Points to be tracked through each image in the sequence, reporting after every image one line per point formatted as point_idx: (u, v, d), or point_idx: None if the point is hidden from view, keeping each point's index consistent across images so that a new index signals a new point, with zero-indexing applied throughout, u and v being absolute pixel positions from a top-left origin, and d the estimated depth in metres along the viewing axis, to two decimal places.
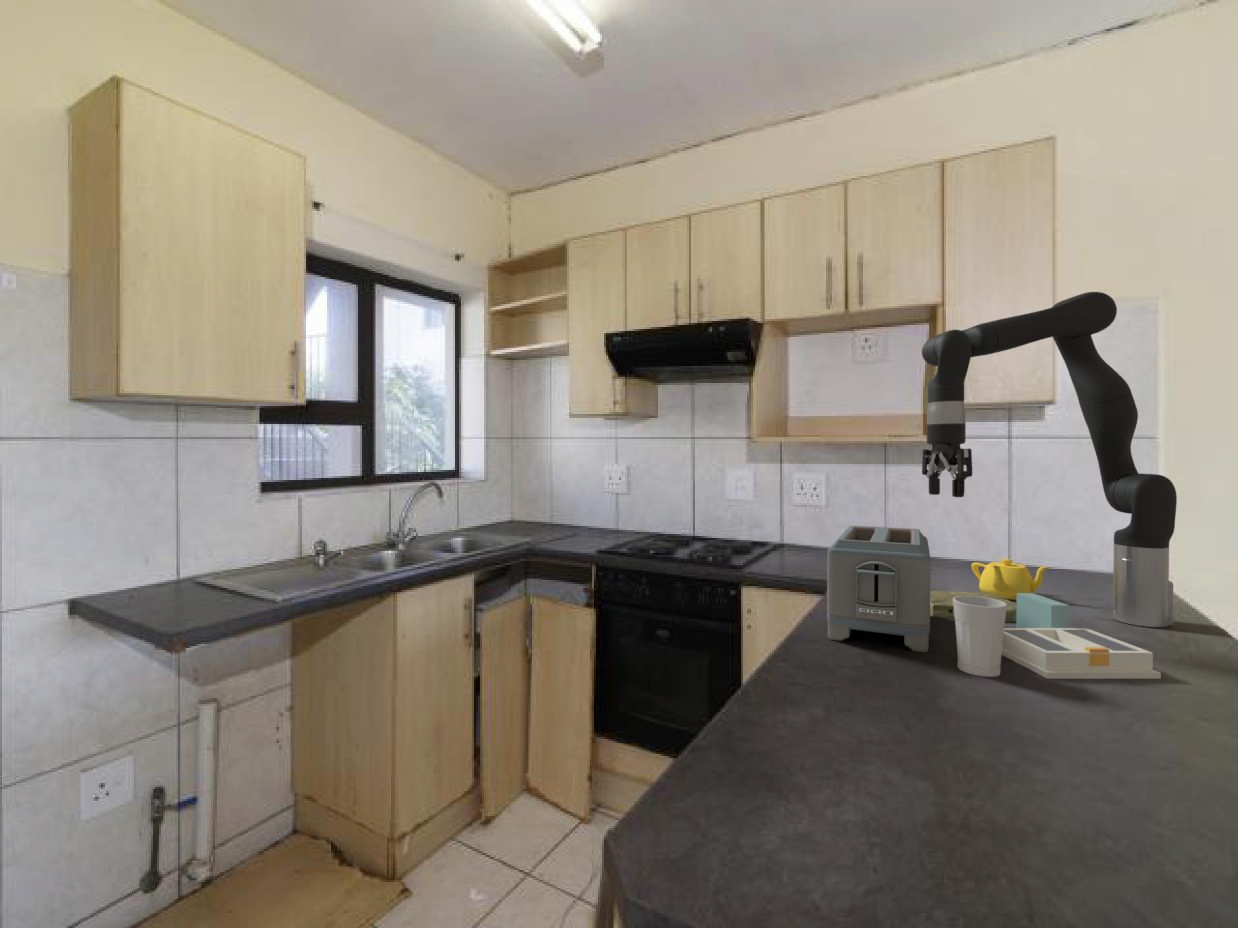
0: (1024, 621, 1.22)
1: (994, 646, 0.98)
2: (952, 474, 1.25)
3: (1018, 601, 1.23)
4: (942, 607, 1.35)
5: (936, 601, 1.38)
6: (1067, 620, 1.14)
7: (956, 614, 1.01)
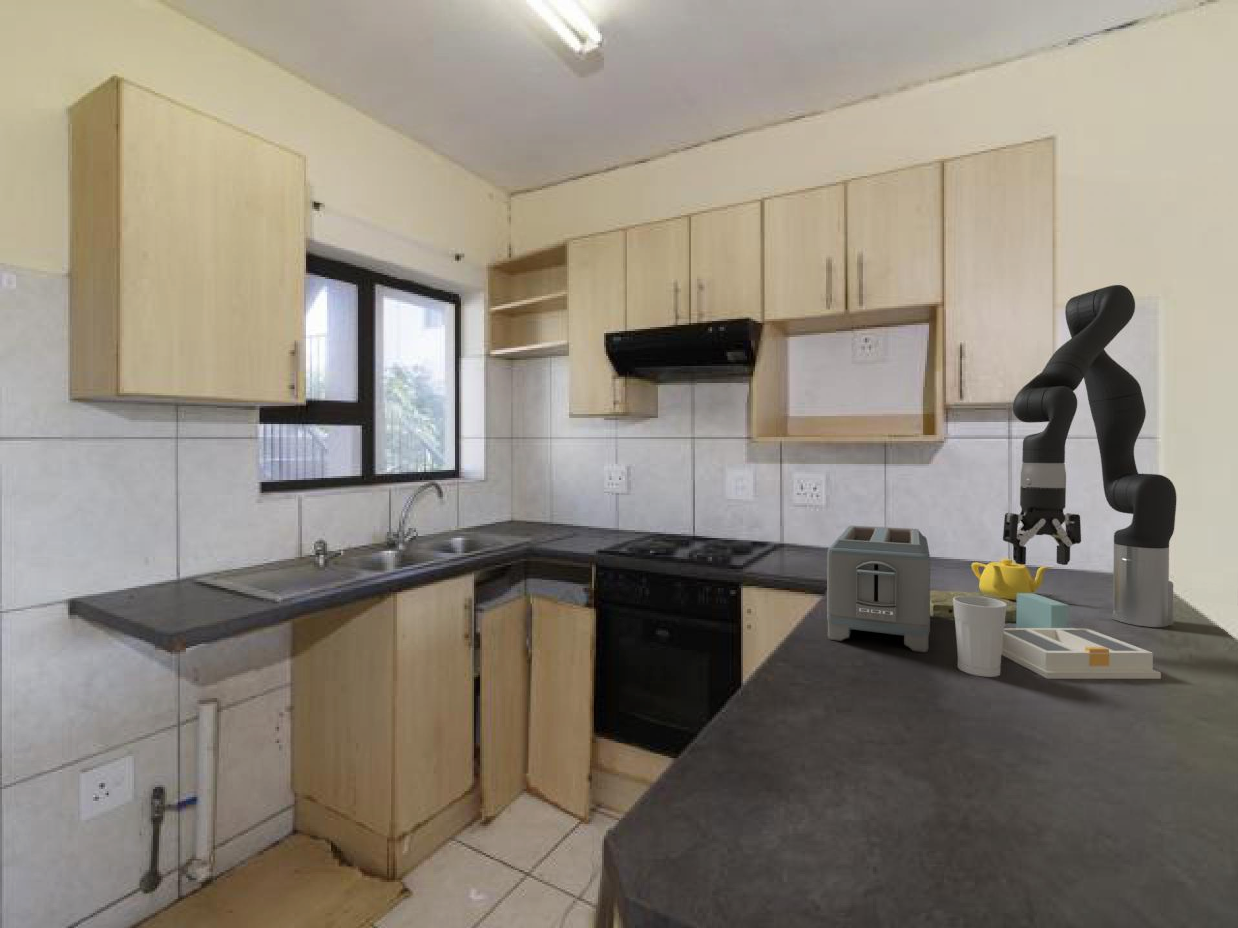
0: (1024, 621, 1.22)
1: (994, 646, 0.98)
2: (1066, 541, 1.18)
3: (1018, 601, 1.23)
4: (942, 607, 1.35)
5: (936, 601, 1.38)
6: (1067, 620, 1.14)
7: (956, 614, 1.01)
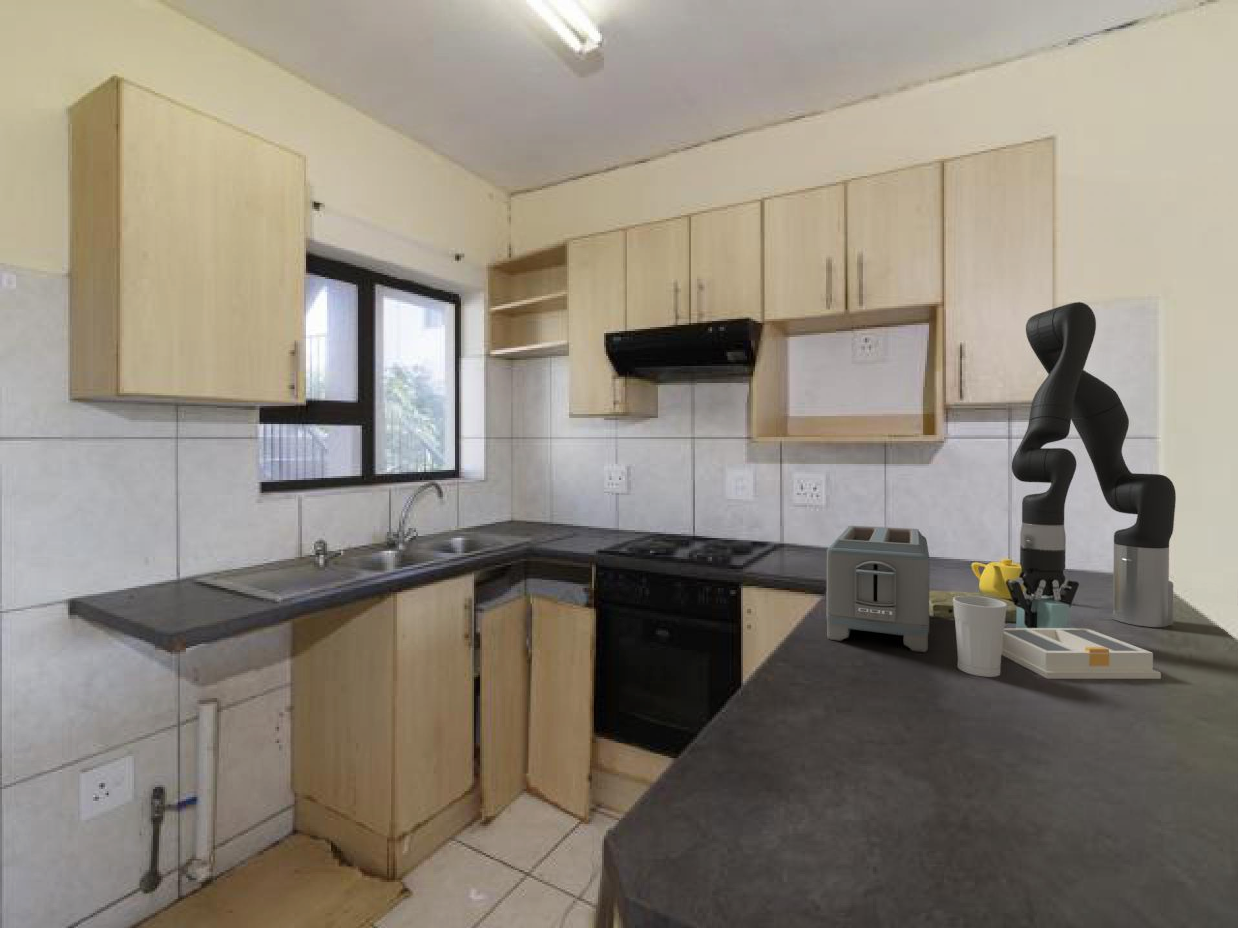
0: None
1: (994, 646, 0.98)
2: None
3: None
4: (942, 607, 1.35)
5: (936, 601, 1.38)
6: (1067, 620, 1.14)
7: (956, 614, 1.01)
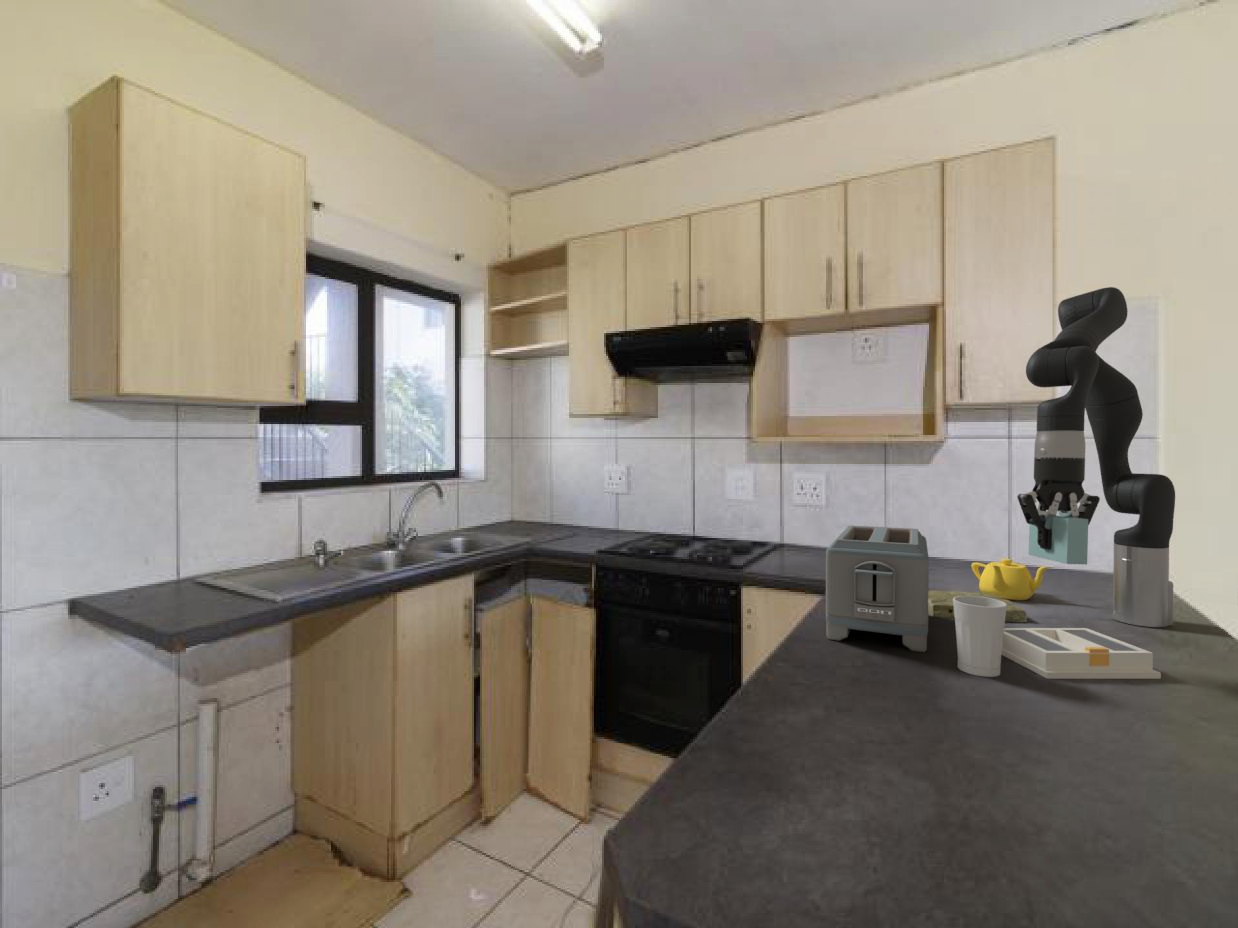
0: (1037, 543, 1.10)
1: (994, 646, 0.98)
2: None
3: None
4: (942, 607, 1.35)
5: (936, 601, 1.38)
6: (1086, 536, 1.02)
7: (956, 614, 1.01)
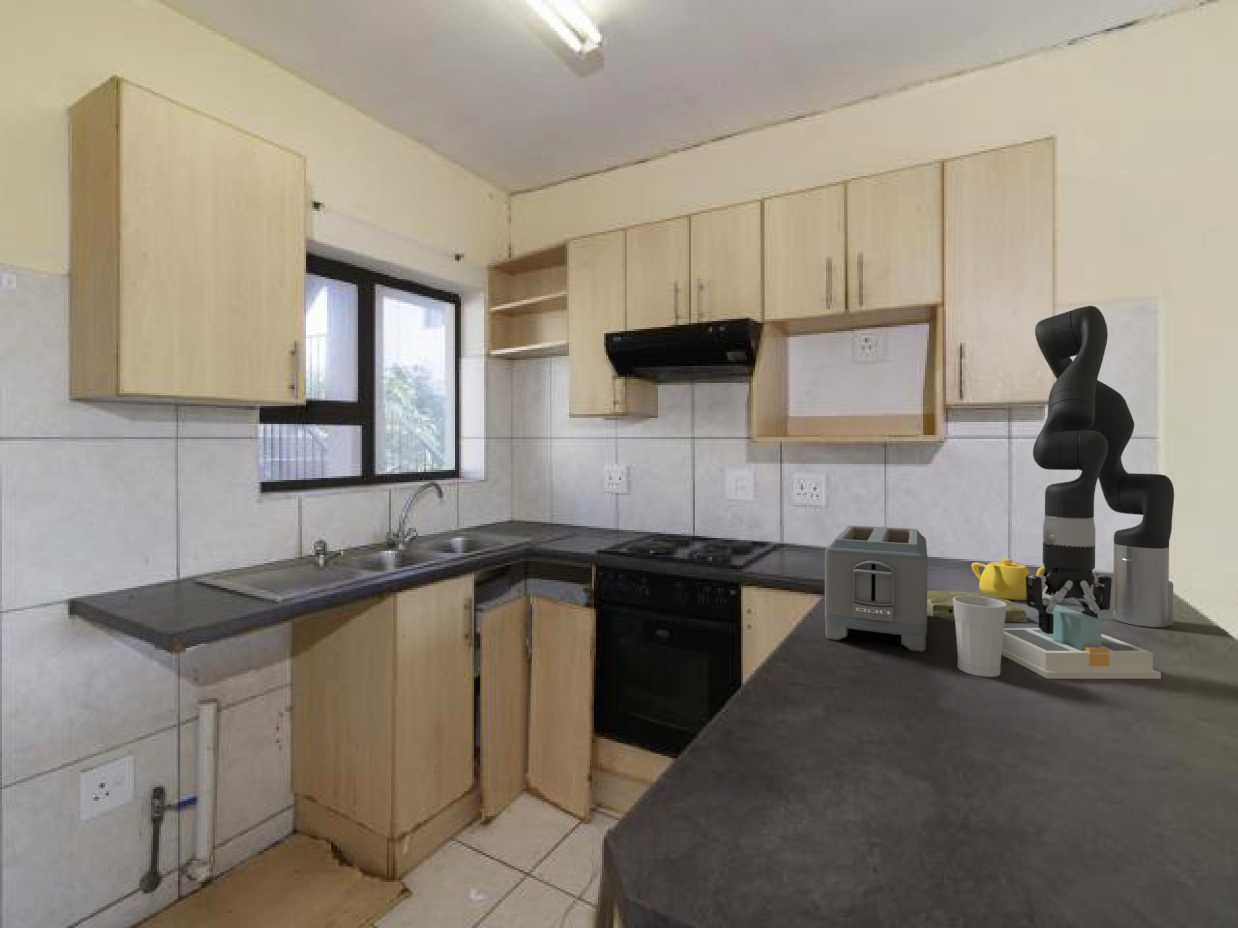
0: None
1: (994, 646, 0.98)
2: (1093, 607, 1.04)
3: None
4: (942, 607, 1.35)
5: (936, 601, 1.38)
6: (1099, 637, 1.00)
7: (956, 614, 1.01)
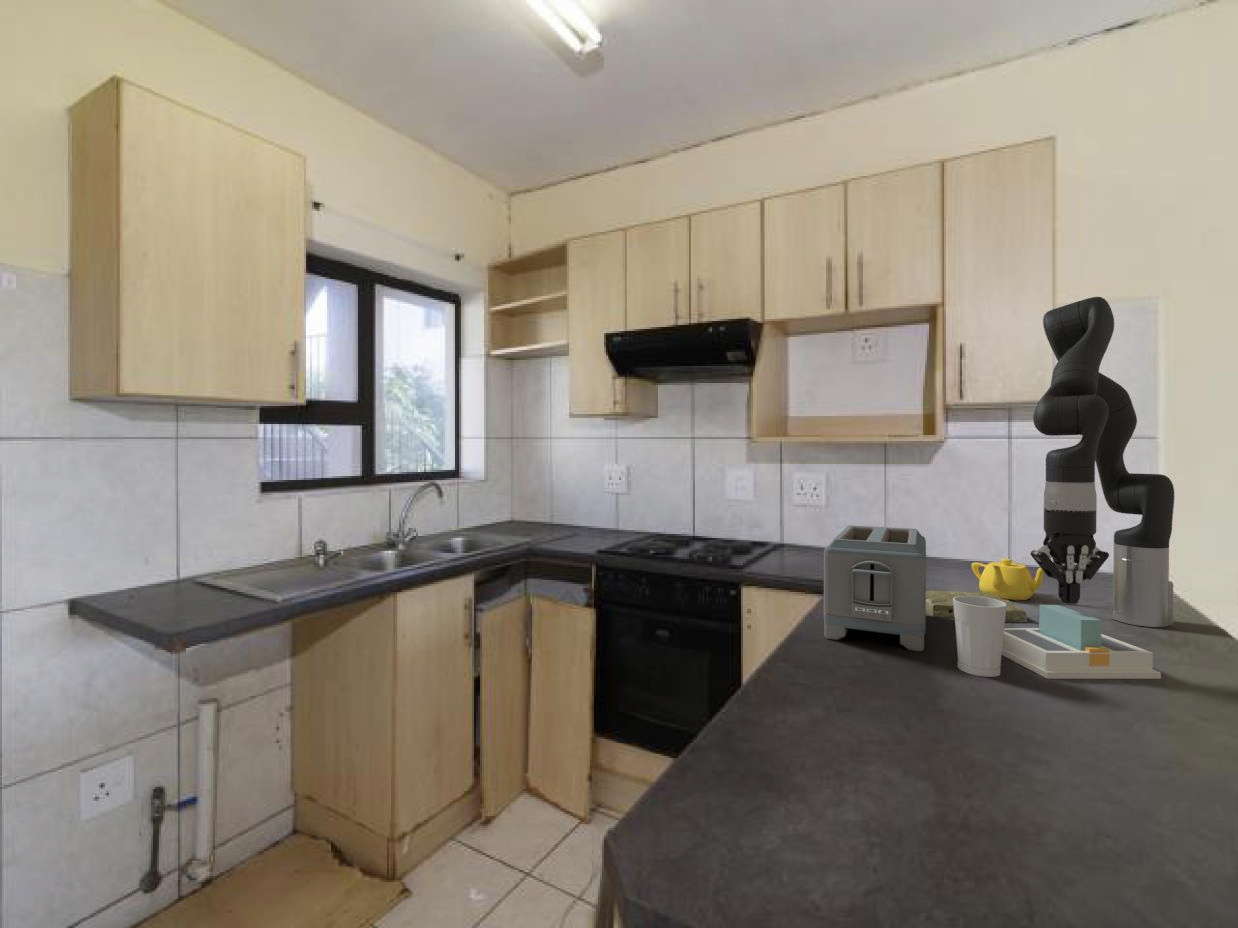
0: None
1: (994, 646, 0.98)
2: (1078, 575, 1.04)
3: (1042, 614, 1.09)
4: (942, 607, 1.35)
5: (936, 601, 1.38)
6: (1099, 637, 1.00)
7: (956, 614, 1.01)
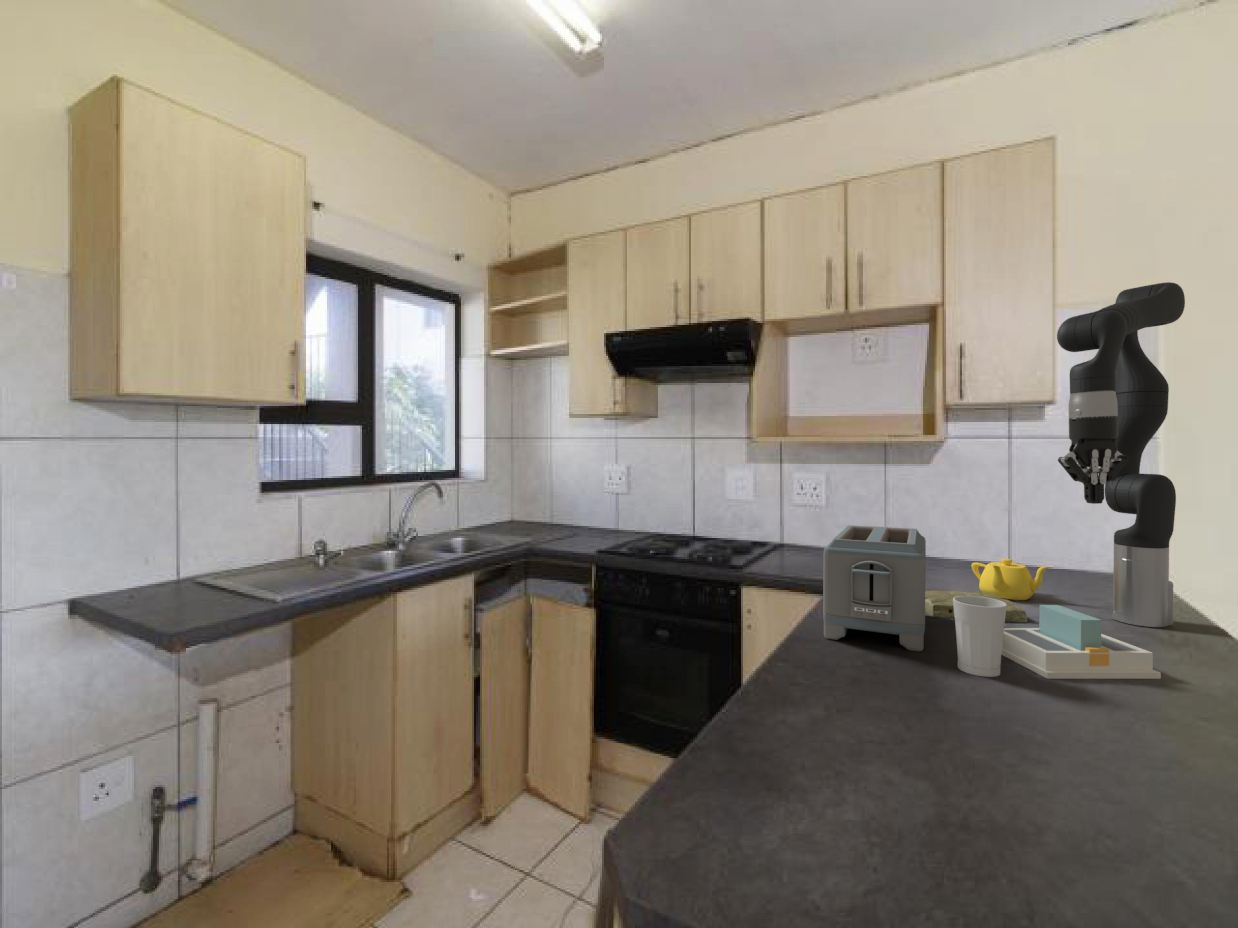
0: None
1: (994, 646, 0.98)
2: (1102, 477, 1.14)
3: (1042, 614, 1.09)
4: (942, 607, 1.35)
5: (936, 601, 1.38)
6: (1099, 637, 1.00)
7: (956, 614, 1.01)
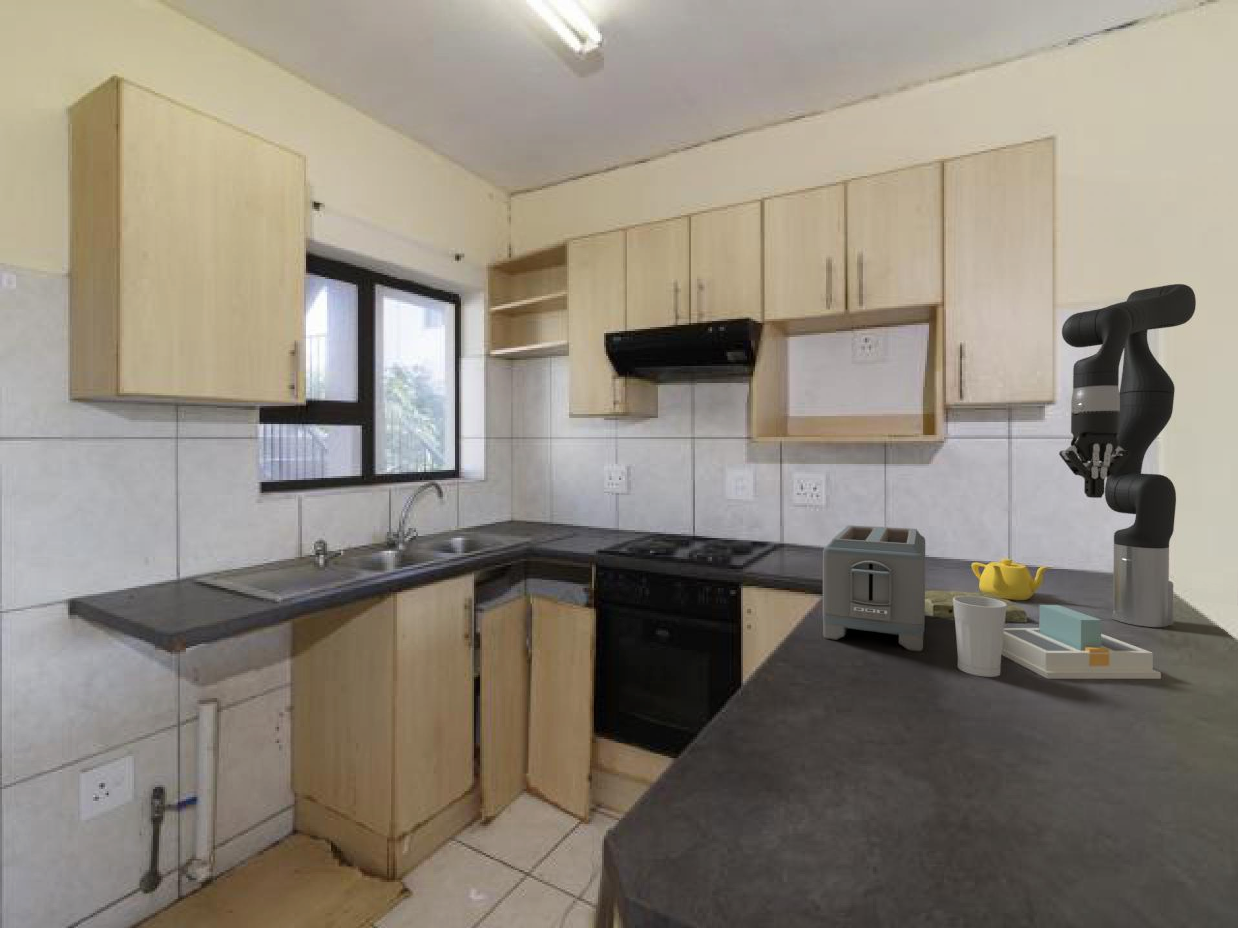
0: None
1: (994, 646, 0.98)
2: (1102, 472, 1.14)
3: (1042, 614, 1.09)
4: (942, 607, 1.35)
5: (936, 601, 1.38)
6: (1099, 637, 1.00)
7: (956, 614, 1.01)
